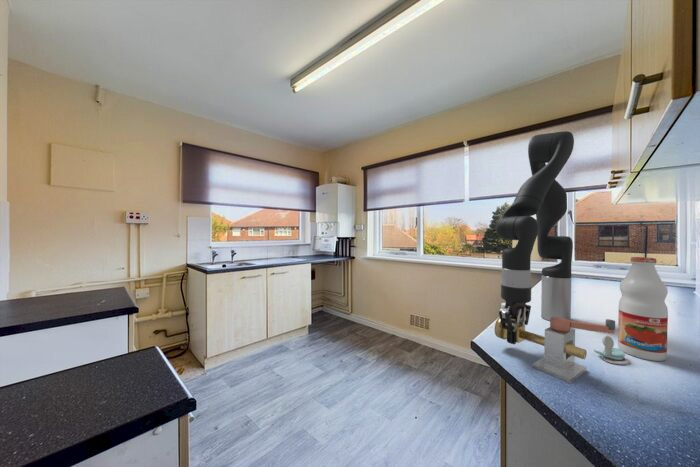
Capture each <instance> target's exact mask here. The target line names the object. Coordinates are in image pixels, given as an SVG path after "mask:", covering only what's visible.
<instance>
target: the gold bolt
mask: <svg viewBox="0 0 700 467" xmlns="http://www.w3.org/2000/svg"><path fill="white" fill-rule="evenodd" d="M505 324H506V323H505ZM512 326H513V323H512ZM494 334H495V336H496V337H497V338H498V339H502V340H507V330H506V329H503V328H502V325H501V320H500V317H499V316H498V318H497V319H496V322H495V324H494ZM524 341H529V342H532V343H534V344H537V345H540V346H544V347H545V335H544V336H543V335H539V334H536V333H535V332H530V331H527V330H526V325H522V324H517V327H516V343H518V344H519V343H521V342H524ZM587 352H588V351H587V349H585V348H581V347H580V346H579V347H578V346H576V345H575V346H572V345H569V344H566V354H569V355H572V356H575V358H579V359H581V360H586V358H587Z"/></svg>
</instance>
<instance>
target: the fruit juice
mask: <svg viewBox="0 0 700 467" xmlns="http://www.w3.org/2000/svg"><path fill="white" fill-rule="evenodd" d="M629 261H630V263H631V266H630V268H629V270H628V272H627V274H626V276H625V277H624V278H623V279H622V280H621V281H620V284H619V290H620V294H621V297H620V298H619V301H618V317H617V319H618V321H617V322H618V324H617V328H618V329H617V346H618V349H620V350H622V351H623V352H624V353H625V354H627V355H629V356H632V357H635V358H637V359H638V358H639V359H643V360H647V361H655V362H663V361H665V360H666V359H667V357H668V326H669V325H668V320H669V311H668V306H667V304H666V301H665V300H666V299H667V296H668V293H669V292H668V287H667V285H666V284H665V283H664V281H662V279H661V277H660V275H659V273H658V271H657V269H656V265H657V258H654V257H646V256H644V257H643V256H631V257H630V260H629Z"/></svg>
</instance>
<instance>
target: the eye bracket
mask: <svg viewBox="0 0 700 467" xmlns="http://www.w3.org/2000/svg"><path fill="white" fill-rule="evenodd" d="M544 337H545V346H544V347H543V348H544V350H543V351H544V354H543V357H542V358H539V359H538V360H537V361H535V362H533V363H532V368H533V369H536V370H538V371H540V372H543V373H545V374H548V375H550V376H552V377H555V378H558V379H560V380H562V381H564V382H567V383H570V384H572V383H573V382H574V381H576V380H577V379H578V378H579V377H581V376H582V375H583V374H584V373H586V372H587V371H588V370H587V366H586V365H583V364H579V363H576V362H575V358H576V357H575V356H572V355H569V354H566V344H569V345H572V346H576V328H570V331H569V332H563V331H558V330H554V329H552V328H551V327H550V326H549V327H548V328H545V329H544Z"/></svg>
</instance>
